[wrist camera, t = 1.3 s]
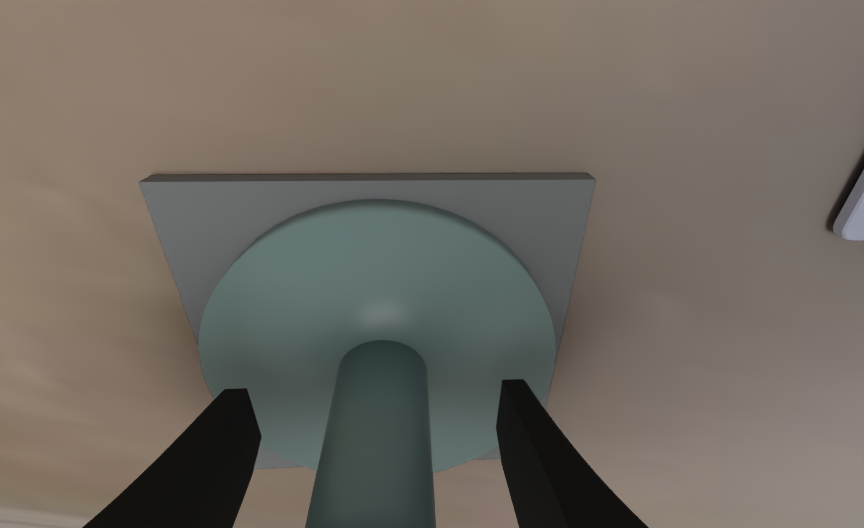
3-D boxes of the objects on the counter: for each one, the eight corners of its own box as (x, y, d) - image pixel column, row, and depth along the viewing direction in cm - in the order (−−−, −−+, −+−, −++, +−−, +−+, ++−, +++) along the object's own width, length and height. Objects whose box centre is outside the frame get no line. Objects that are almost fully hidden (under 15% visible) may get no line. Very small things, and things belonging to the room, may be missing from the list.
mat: (587, 173, 11) (595, 179, 11) (530, 444, 17) (534, 457, 17) (151, 174, 11) (138, 182, 10) (248, 455, 17) (243, 469, 16)
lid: (574, 197, 11) (721, 338, 6) (524, 449, 16) (578, 640, 11) (165, 199, 10) (-75, 359, 5) (253, 460, 16) (177, 666, 11)
